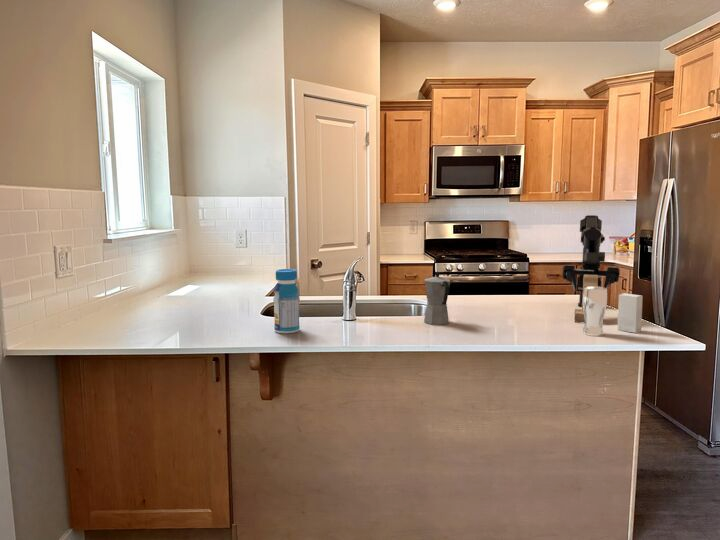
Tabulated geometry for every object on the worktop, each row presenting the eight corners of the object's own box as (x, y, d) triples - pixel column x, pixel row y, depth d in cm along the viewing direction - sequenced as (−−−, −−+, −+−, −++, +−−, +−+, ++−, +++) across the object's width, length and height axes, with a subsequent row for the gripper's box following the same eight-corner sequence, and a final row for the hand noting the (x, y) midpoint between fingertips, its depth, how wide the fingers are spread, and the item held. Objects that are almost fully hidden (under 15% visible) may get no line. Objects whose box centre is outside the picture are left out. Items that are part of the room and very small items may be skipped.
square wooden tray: (574, 316, 188) (575, 308, 188) (601, 319, 185) (601, 310, 184) (574, 322, 180) (574, 313, 180) (602, 324, 177) (603, 315, 176)
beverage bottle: (289, 335, 161) (288, 272, 158) (268, 331, 165) (267, 270, 162) (305, 329, 168) (304, 269, 165) (284, 326, 172) (283, 267, 169)
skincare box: (641, 331, 167) (644, 295, 165) (635, 333, 164) (638, 296, 162) (622, 328, 172) (624, 292, 170) (616, 330, 169) (618, 294, 167)
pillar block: (581, 310, 185) (583, 274, 183) (595, 311, 183) (597, 275, 182) (581, 312, 181) (584, 275, 179) (595, 313, 179) (598, 276, 177)
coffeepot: (417, 319, 184) (417, 269, 182) (441, 317, 186) (442, 268, 184) (434, 329, 169) (435, 275, 167) (459, 327, 172) (461, 274, 169)
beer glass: (603, 337, 159) (606, 290, 157) (579, 334, 163) (582, 288, 161) (606, 332, 165) (609, 287, 163) (582, 330, 169) (585, 285, 167)
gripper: (564, 243, 188) (562, 276, 179) (621, 244, 181) (621, 280, 172) (563, 262, 196) (561, 295, 187) (618, 264, 189) (618, 298, 180)
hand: (589, 292), depth 182 cm, fingers open, 9 cm apart
